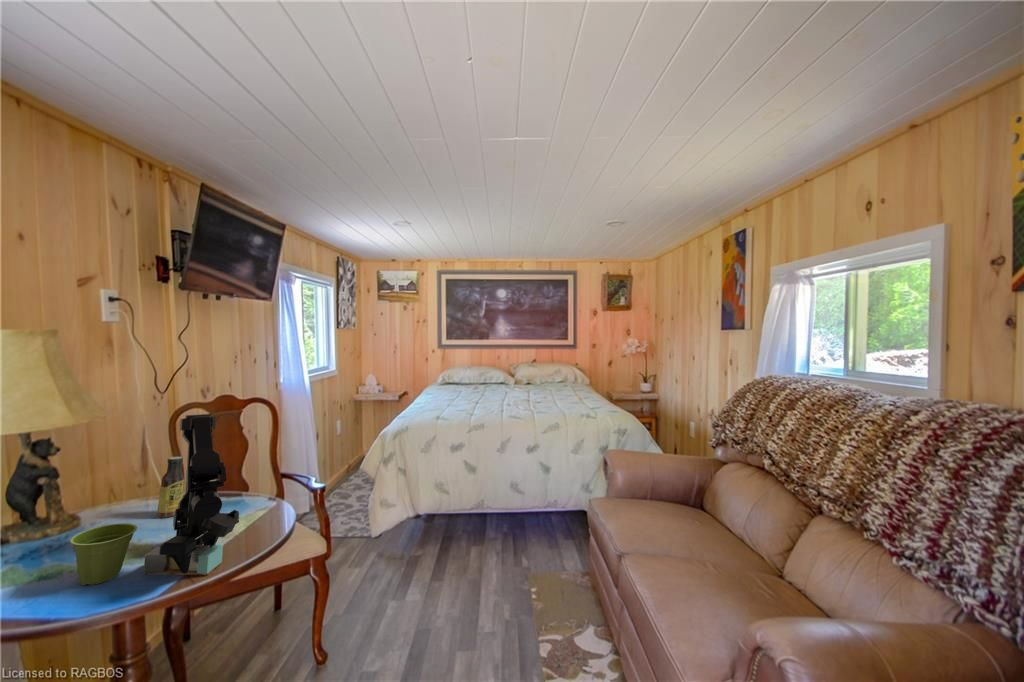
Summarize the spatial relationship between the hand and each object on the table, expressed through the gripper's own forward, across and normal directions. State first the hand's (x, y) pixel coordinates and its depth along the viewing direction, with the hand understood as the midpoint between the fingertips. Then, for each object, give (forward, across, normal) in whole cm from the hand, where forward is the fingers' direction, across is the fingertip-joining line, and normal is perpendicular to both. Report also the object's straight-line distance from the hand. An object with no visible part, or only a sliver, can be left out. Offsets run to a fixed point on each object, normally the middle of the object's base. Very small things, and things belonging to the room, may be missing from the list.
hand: (197, 564), depth 102 cm
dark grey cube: (+1, 0, +9) cm, 9 cm away
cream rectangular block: (+1, 0, +2) cm, 2 cm away
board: (+1, 0, +3) cm, 3 cm away
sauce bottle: (+2, +33, +33) cm, 47 cm away
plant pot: (+2, -4, +20) cm, 21 cm away
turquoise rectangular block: (+1, 0, -3) cm, 3 cm away
